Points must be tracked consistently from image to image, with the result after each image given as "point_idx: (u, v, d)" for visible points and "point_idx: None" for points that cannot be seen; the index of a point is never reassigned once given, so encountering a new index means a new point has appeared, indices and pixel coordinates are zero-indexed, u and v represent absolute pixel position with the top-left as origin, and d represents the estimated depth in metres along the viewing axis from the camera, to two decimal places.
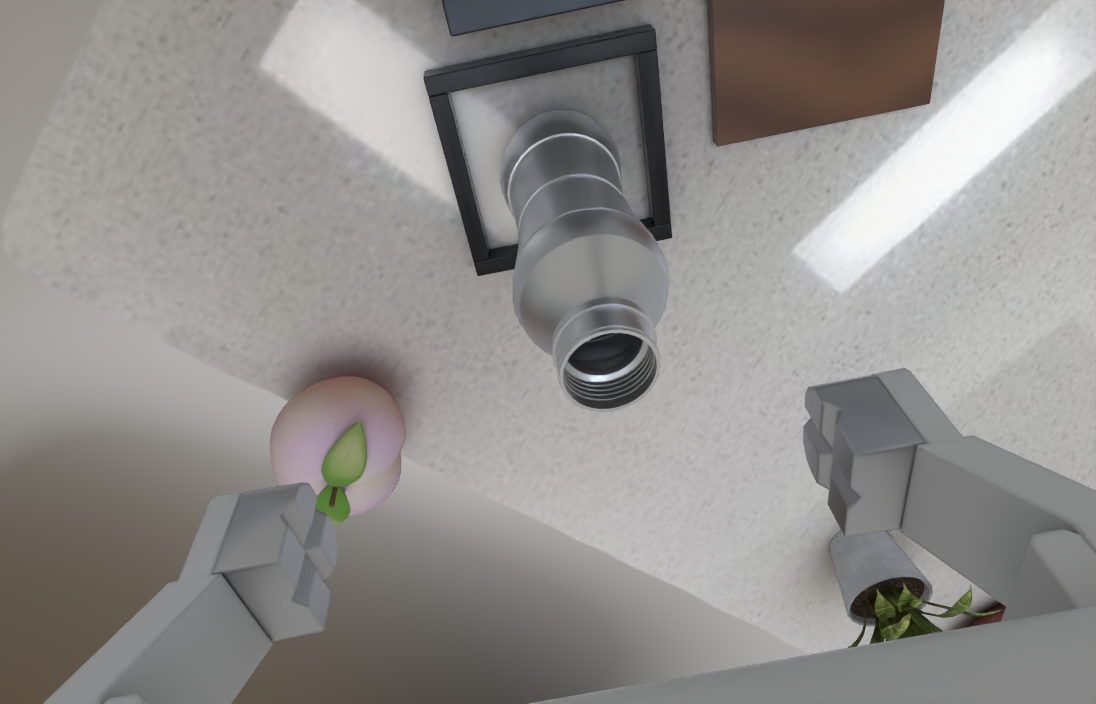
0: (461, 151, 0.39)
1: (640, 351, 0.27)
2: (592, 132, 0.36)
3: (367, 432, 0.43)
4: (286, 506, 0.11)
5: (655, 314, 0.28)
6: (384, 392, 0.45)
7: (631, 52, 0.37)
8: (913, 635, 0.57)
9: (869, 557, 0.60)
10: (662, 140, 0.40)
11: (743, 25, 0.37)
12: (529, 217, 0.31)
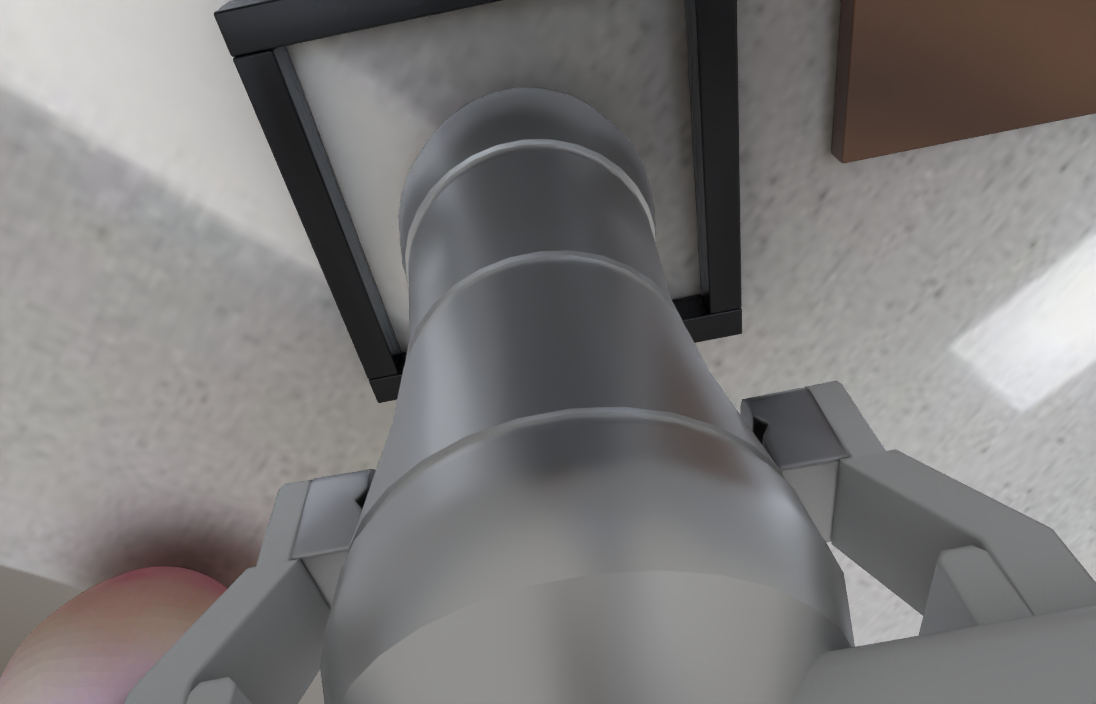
0: (319, 175, 0.19)
1: None
2: (592, 136, 0.16)
3: None
4: (359, 492, 0.11)
5: None
6: None
7: None
8: None
9: None
10: (735, 152, 0.19)
11: None
12: (411, 383, 0.11)
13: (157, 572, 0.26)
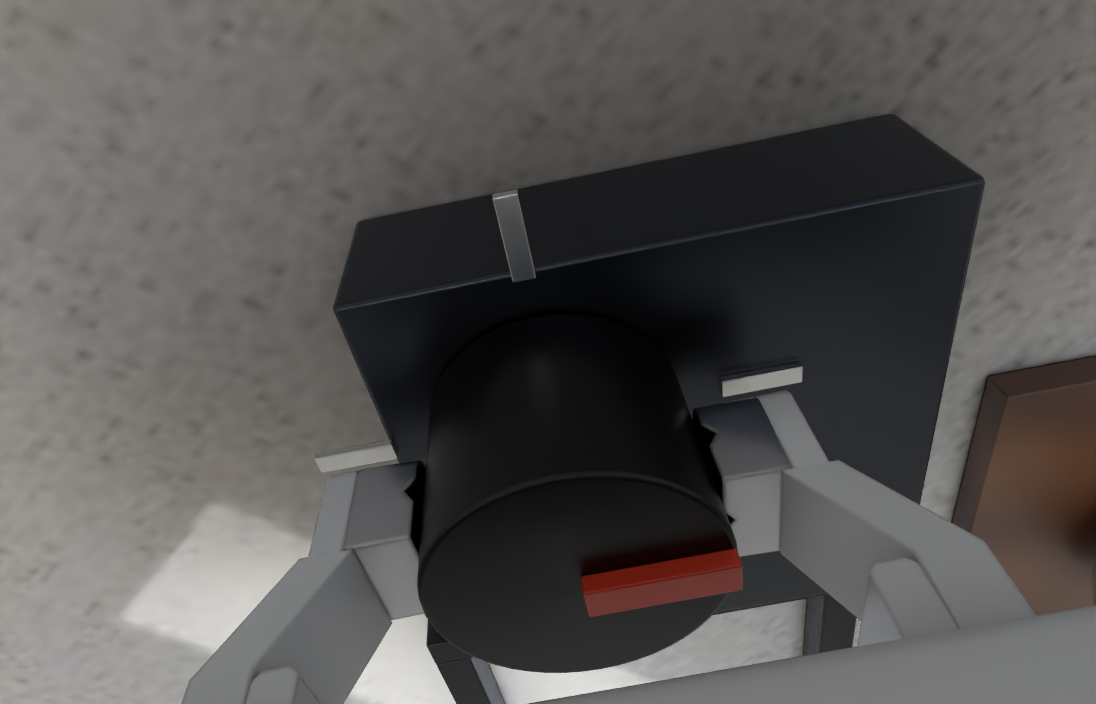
0: None
1: None
2: None
3: None
4: (408, 483, 0.11)
5: None
6: None
7: (813, 595, 0.20)
8: None
9: None
10: None
11: (1021, 543, 0.20)
12: None
13: None
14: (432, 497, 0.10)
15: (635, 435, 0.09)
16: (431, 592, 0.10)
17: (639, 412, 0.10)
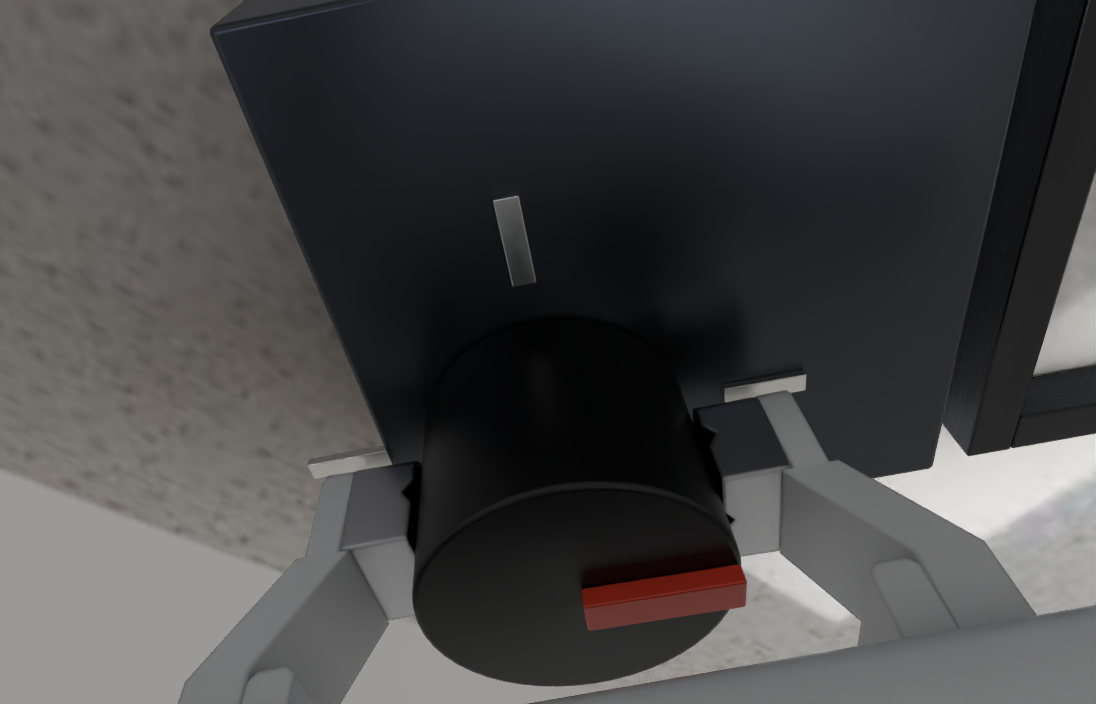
0: None
1: None
2: None
3: None
4: (405, 484, 0.11)
5: None
6: None
7: None
8: None
9: None
10: None
11: None
12: None
13: None
14: (430, 504, 0.10)
15: (642, 446, 0.09)
16: (426, 602, 0.09)
17: (645, 421, 0.10)
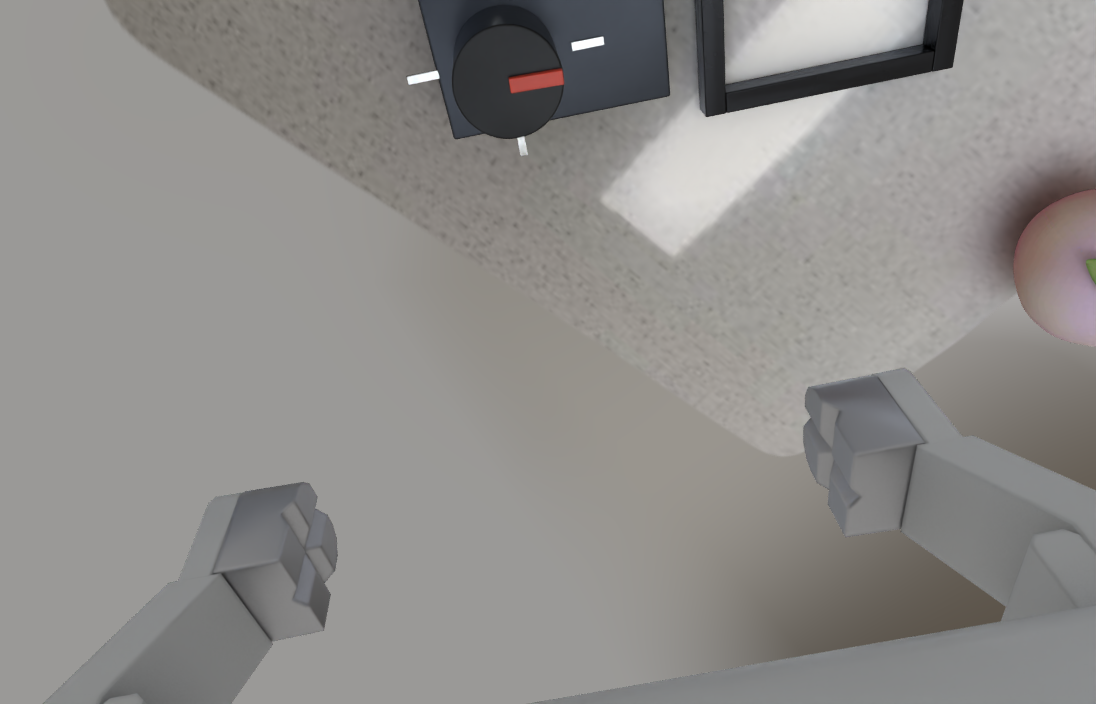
0: (791, 80, 0.34)
1: None
2: None
3: None
4: (285, 506, 0.11)
5: None
6: (1062, 207, 0.37)
7: None
8: None
9: None
10: None
11: None
12: None
13: (1022, 233, 0.39)
14: (457, 50, 0.28)
15: (527, 23, 0.28)
16: (456, 80, 0.28)
17: (530, 22, 0.28)
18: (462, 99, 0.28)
